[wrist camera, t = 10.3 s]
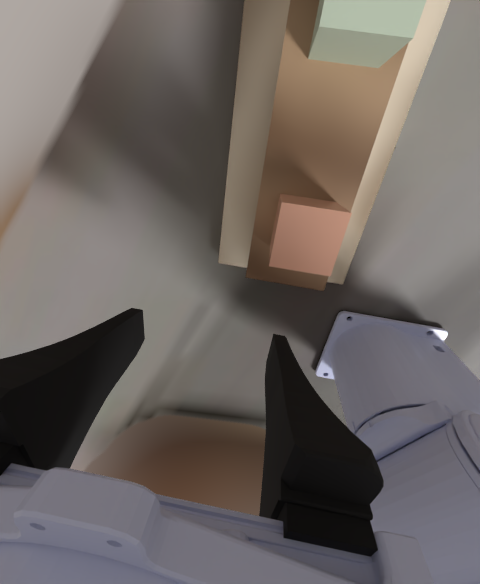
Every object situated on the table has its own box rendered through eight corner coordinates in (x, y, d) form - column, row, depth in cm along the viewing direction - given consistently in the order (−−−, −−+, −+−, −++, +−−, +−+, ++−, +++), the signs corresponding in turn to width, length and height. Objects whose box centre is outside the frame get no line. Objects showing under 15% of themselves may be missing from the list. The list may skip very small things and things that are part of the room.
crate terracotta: (336, 202, 13) (352, 213, 11) (320, 255, 15) (330, 276, 12) (280, 193, 13) (281, 202, 11) (269, 247, 15) (268, 266, 12)
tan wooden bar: (303, -65, 12) (316, -161, 8) (411, -52, 11) (472, -145, 8) (250, 255, 19) (245, 277, 16) (314, 266, 19) (323, 291, 16)
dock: (458, -53, 12) (480, -79, 11) (338, 276, 21) (342, 284, 20) (256, -76, 13) (254, -104, 11) (221, 256, 21) (218, 262, 20)
